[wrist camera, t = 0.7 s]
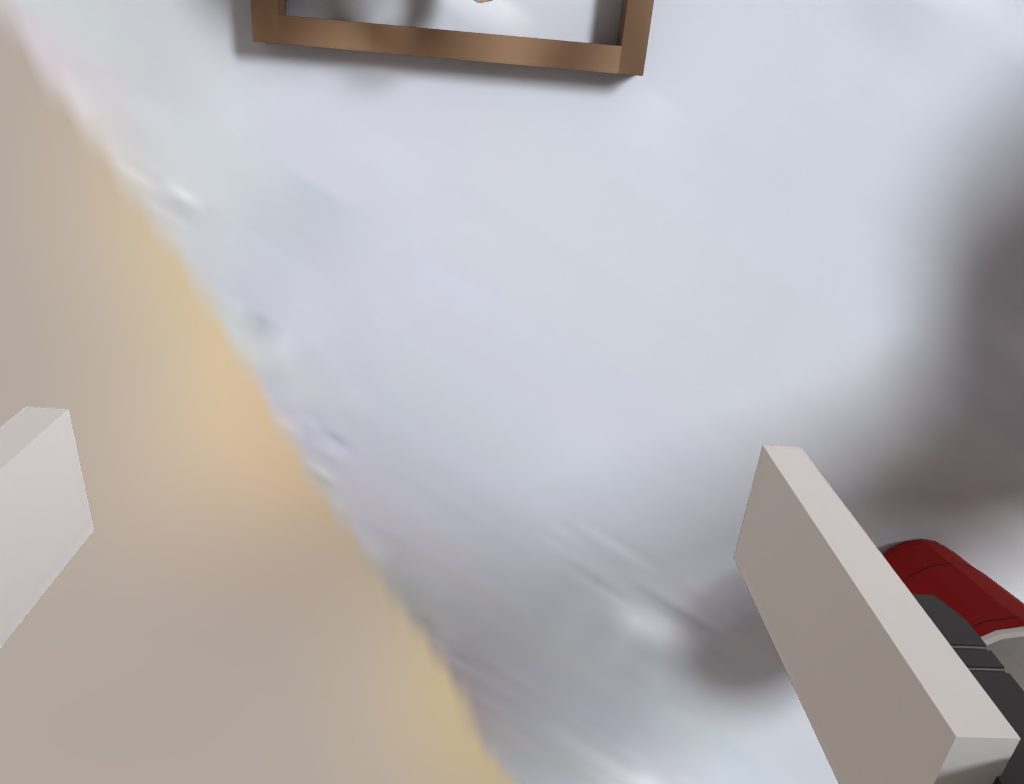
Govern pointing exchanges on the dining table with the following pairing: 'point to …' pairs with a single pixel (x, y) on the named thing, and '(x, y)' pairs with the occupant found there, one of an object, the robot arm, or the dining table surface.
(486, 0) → the teacup with lid
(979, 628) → the plastic cup
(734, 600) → the dining table surface
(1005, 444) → the dining table surface
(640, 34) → the brown wooden frame
